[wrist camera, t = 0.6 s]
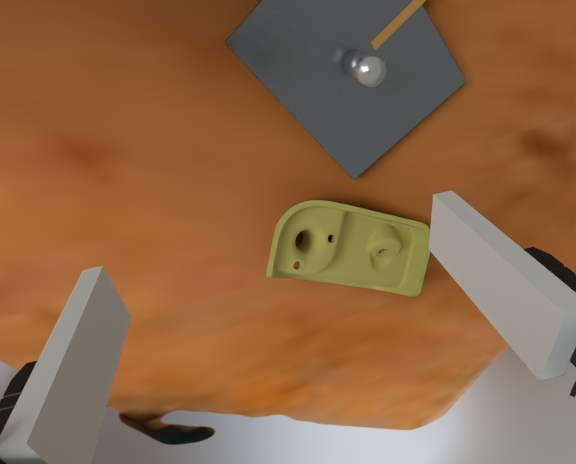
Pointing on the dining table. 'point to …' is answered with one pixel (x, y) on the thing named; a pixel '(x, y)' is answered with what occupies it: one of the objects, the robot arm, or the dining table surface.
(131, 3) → the dining table surface
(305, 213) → the plastic component
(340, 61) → the hub plate
